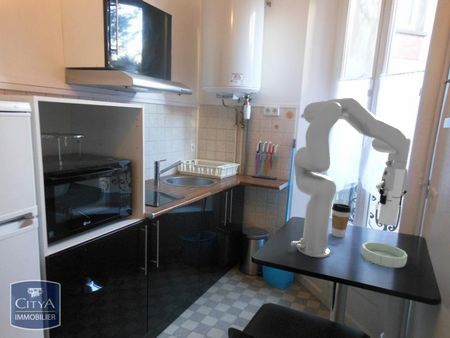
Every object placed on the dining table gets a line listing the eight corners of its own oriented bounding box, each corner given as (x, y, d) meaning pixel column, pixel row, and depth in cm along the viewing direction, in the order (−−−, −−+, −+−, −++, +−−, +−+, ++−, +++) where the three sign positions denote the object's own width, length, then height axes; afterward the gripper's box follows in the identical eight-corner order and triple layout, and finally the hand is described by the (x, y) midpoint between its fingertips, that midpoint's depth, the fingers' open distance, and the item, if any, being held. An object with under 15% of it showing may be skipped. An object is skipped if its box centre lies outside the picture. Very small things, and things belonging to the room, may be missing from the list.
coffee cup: (325, 232, 148) (328, 202, 146) (339, 231, 150) (343, 202, 148) (336, 238, 140) (340, 207, 138) (351, 237, 143) (355, 207, 140)
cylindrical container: (398, 226, 132) (408, 170, 129) (380, 224, 133) (390, 168, 130) (392, 221, 139) (401, 168, 136) (376, 219, 140) (384, 166, 137)
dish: (378, 268, 112) (380, 258, 111) (353, 250, 127) (354, 242, 126) (414, 267, 115) (416, 257, 114) (386, 250, 130) (387, 241, 129)
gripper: (385, 164, 127) (378, 205, 130) (420, 167, 131) (413, 207, 133) (373, 162, 134) (367, 201, 137) (406, 165, 138) (400, 202, 140)
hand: (390, 203), depth 135 cm, fingers closed on cylindrical container, 7 cm apart
